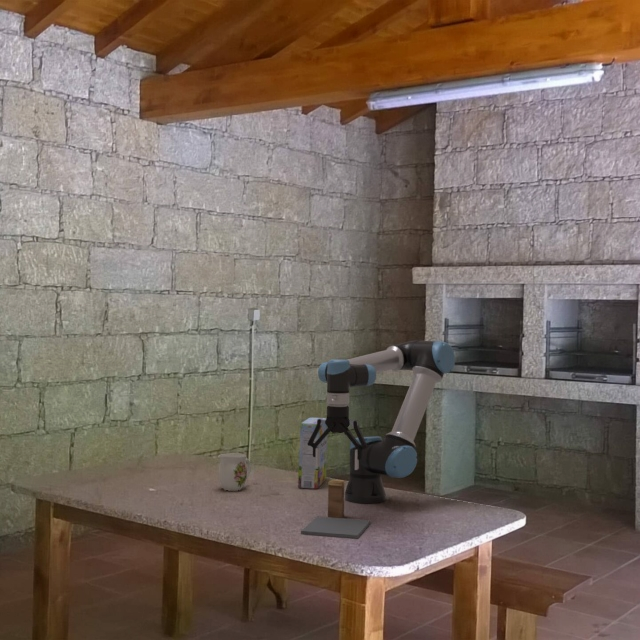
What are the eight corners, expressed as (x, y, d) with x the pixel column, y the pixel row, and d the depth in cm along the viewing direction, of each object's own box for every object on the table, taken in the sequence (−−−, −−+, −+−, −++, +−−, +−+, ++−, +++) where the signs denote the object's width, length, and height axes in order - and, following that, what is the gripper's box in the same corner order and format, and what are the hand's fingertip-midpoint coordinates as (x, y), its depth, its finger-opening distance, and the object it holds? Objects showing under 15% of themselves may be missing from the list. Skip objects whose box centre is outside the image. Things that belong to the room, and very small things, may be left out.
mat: (317, 519, 287) (317, 516, 287) (370, 523, 283) (370, 520, 283) (300, 534, 268) (301, 530, 268) (357, 538, 264) (357, 535, 264)
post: (331, 514, 295) (331, 479, 295) (343, 515, 294) (344, 480, 294) (327, 517, 290) (328, 481, 290) (340, 518, 289) (341, 482, 289)
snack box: (319, 489, 336) (320, 423, 336) (297, 488, 337) (298, 423, 337) (327, 479, 357) (328, 417, 357) (306, 478, 359) (307, 416, 359)
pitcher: (260, 487, 339) (260, 452, 339) (228, 494, 325) (229, 458, 324) (239, 483, 346) (239, 449, 345) (207, 490, 331) (208, 454, 331)
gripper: (299, 404, 291) (298, 467, 291) (372, 408, 285) (371, 472, 285) (305, 402, 298) (304, 464, 298) (376, 405, 292) (375, 468, 292)
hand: (336, 468), depth 292 cm, fingers open, 13 cm apart
